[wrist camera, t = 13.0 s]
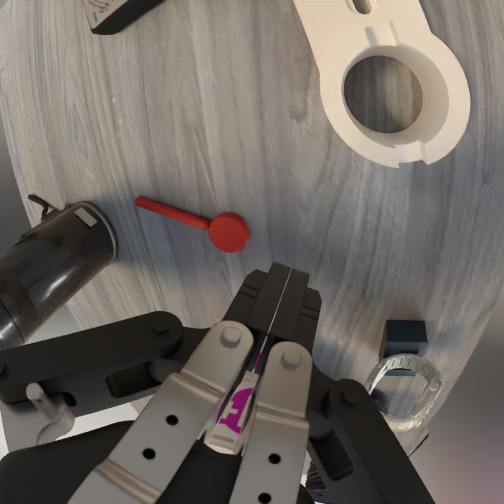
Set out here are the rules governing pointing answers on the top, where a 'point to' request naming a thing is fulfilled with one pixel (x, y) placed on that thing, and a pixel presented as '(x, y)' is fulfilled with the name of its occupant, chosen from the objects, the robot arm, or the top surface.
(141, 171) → the top surface
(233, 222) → the red spoon
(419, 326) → the watch
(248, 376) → the supplement can
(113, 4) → the multimeter
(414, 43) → the bracket
